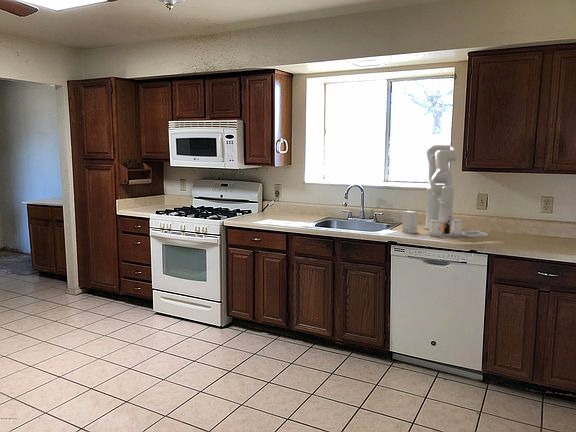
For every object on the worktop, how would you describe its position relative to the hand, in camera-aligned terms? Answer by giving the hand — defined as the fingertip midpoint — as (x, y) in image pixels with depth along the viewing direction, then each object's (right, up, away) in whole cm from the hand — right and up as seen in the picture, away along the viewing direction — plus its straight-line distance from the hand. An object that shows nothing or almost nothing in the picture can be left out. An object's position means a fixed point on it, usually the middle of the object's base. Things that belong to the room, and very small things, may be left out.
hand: (445, 232), depth 304 cm
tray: (+20, -3, +4) cm, 20 cm away
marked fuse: (0, -2, 0) cm, 2 cm away
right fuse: (+8, -2, +2) cm, 8 cm away
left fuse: (-8, -2, -1) cm, 8 cm away
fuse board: (0, -3, 0) cm, 3 cm away
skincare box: (-20, -2, +12) cm, 24 cm away
